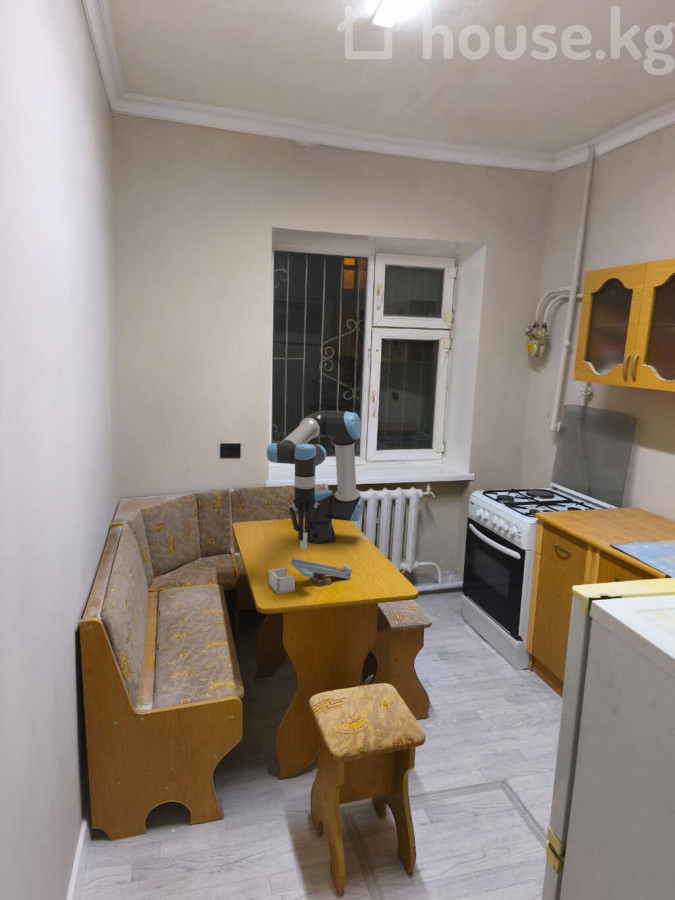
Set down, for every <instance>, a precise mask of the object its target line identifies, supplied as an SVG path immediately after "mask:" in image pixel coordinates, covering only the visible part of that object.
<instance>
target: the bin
mask: <svg viewBox="0 0 675 900" xmlns="http://www.w3.org/2000/svg"><path fill="white" fill-rule="evenodd" d="M295 582H296V576H295V574H291V575H288V568H287V567H282V568H274V569H269V571H268V585H269V587H271V589H272V590H273V591H274V592H275V593H276V594H277V595H279V594H285V593H290V592H295V590H296V588H295V587H296V586H295V585H296V583H295Z"/></svg>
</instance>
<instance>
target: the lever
mask: <svg viewBox="0 0 675 900" xmlns="http://www.w3.org/2000/svg"><path fill="white" fill-rule="evenodd" d="M290 564H291V566H292V567H294V569H296V570H297V571H298V572H299V573H300V574H301V575H302V576H303V577H308V578H310V577H313V576H314V575H313V574H312V573H319V574H325V575H326V576H331V577H335V578H341V579H347V580H350V577H351V574H352V572H353V569H352V568H350V567H349V566H348V565H347V564H345V563H341V564H342V565H343V566H344V571H343V572H340V571H336V566H332V565H327V564H321V563H319V562H318V563H317V562H312V561H308V560H303V559H297V558H291V560H290Z"/></svg>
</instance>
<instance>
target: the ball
mask: <svg viewBox="0 0 675 900" xmlns="http://www.w3.org/2000/svg"><path fill="white" fill-rule="evenodd" d="M342 564H343V563H338V564H336V566H335V567H336V571H340V572H343V571H344V566H343V565H342Z"/></svg>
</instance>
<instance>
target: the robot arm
mask: <svg viewBox="0 0 675 900" xmlns="http://www.w3.org/2000/svg"><path fill="white" fill-rule="evenodd" d="M361 434H362V422H361V419H360V417H359V415H358V413H356V412H350V411H339V410H337V411H335V410H319V411H316V412H313V413H311V414H308V415H307V416H305V417H304V418H303V419H301V421H300V422H299V425H298V426H297V427H296V428H295V429H294V430H293V431H292V432H291V433H289V434H288V435H287V436H285V438H283V440H282V441H280V442H279V443H278V442H272V443H269V445H267V449H266V457H267V460H268V462H270V463H276V464H286V465H287V464H288V465H294V486H295V487H294V489H293V490H294V493H293V495H294V496H293V497H294V498H293V501H292V504H290V505H287V506H286V507H287V510H288V511H289V514H290V518H291V523H292V527H293V530H294V531H295V532H298V536H297V537H298V540H299V541H300V547H299V548H301V549H302V550H303V551H304V550H307V549H308V542H309V543H313V544H328V543H331V542H334V541H335V539H336V533H335V529H334V527H333V526H334V525H333V520H338V521H345V522H359V521H360V519H361V517H362V515H363V510H364V507H365V506H364V505H365V498H364V497H362V496H360V494H361V493H360V491H359V490H358V489H357V481H356V480H357V479H356V478H357V477H356V459H355V458H356V457H355V455H356V454H355V445H356V443H357V442H358V440H359V439H360V438H361ZM317 437H318V438H319V437H321V438H323V437H324V438H330V440H331V445H332V444H333V446H334V449H335V450H334V451H335V467H336V482H337V483H336V485H337V491H336V492H335V493H334V492H333V490H330V489H318V490H316V488H315V486H316V467H317V466H319V465H321V464H323V462H324V461H325V460H326V458H327V451H326V450H327V449H325V447H323V446H322V445H321V444H311V443H309V442H310V441H311V440H313V439H316V438H317ZM296 509H297V513H296V512H295V511H296Z"/></svg>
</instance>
